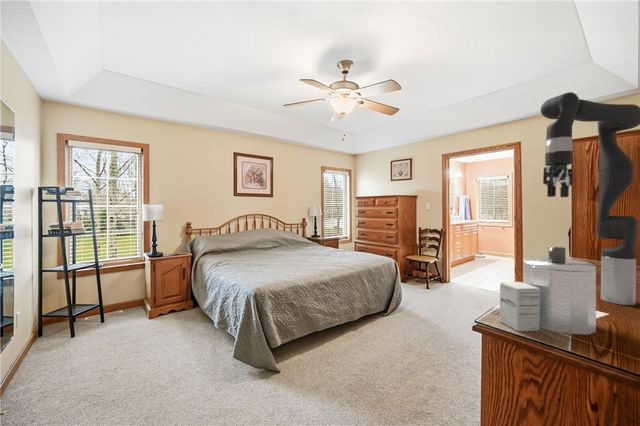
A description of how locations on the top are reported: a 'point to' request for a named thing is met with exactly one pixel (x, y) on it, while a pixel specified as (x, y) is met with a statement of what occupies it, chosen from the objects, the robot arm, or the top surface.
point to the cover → (563, 292)
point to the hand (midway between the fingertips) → (558, 196)
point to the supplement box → (520, 306)
